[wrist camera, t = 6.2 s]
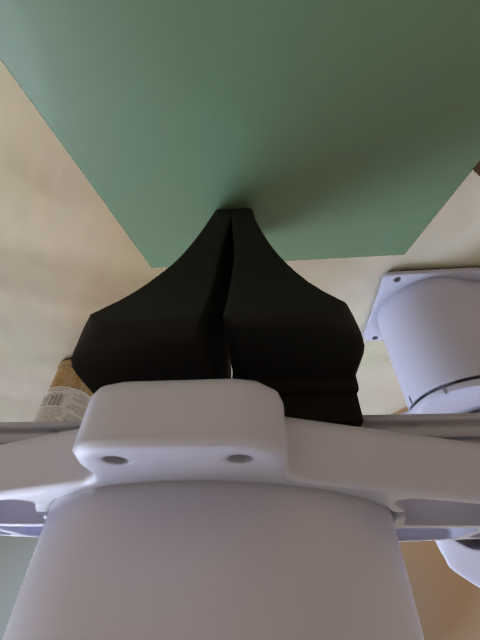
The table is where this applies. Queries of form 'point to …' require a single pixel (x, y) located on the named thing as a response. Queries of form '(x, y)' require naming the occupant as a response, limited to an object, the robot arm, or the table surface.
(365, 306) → the table surface
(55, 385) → the sprinkles bottle
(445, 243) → the table surface
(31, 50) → the lid
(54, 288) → the table surface
